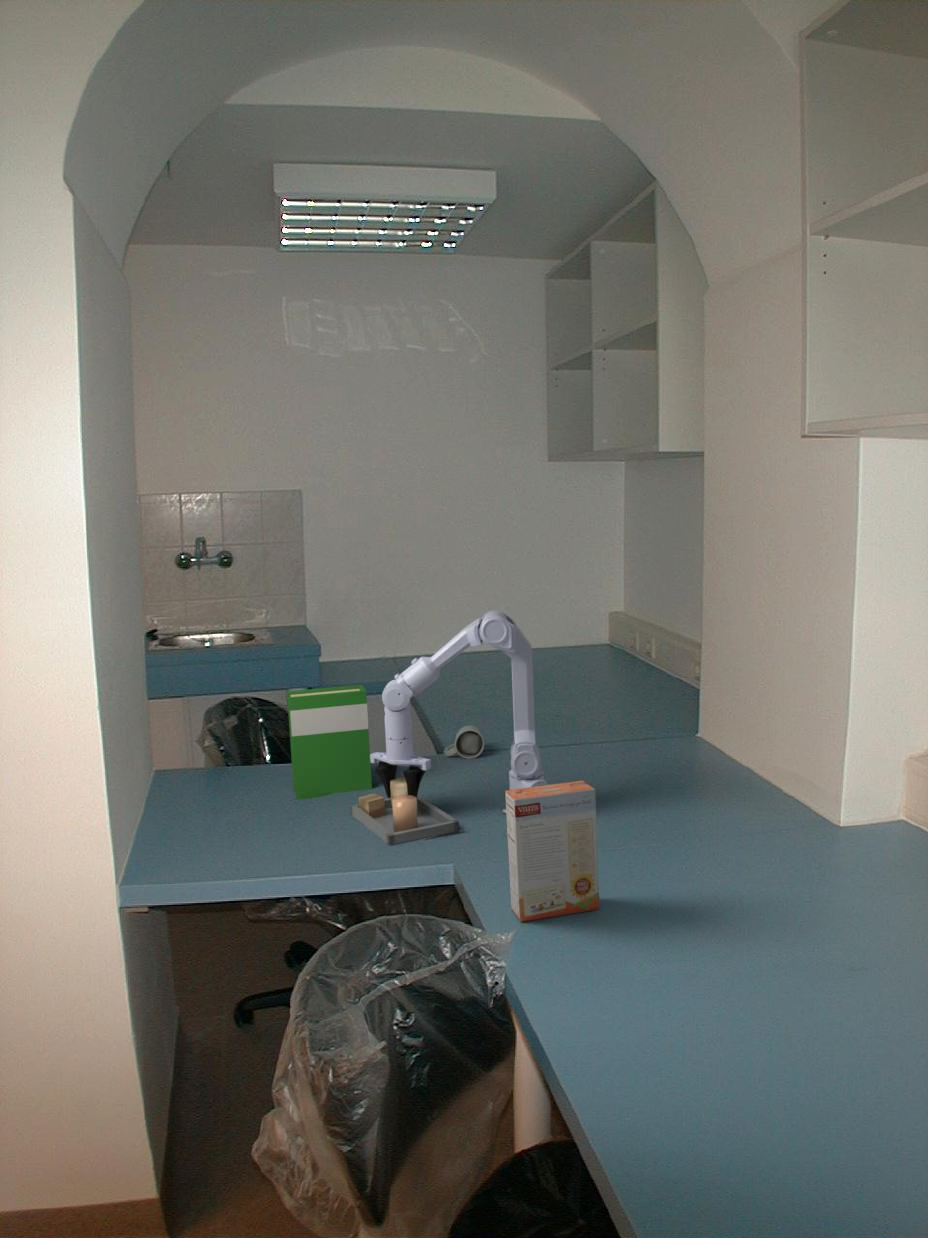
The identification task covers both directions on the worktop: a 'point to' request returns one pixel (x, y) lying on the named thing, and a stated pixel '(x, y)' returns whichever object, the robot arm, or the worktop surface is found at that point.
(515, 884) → the cracker box
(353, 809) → the tray
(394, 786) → the beige oval piece
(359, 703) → the hardback book
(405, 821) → the tan rounded cylinder
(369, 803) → the oak cube
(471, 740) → the ceramic mug
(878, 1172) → the worktop surface
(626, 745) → the worktop surface
